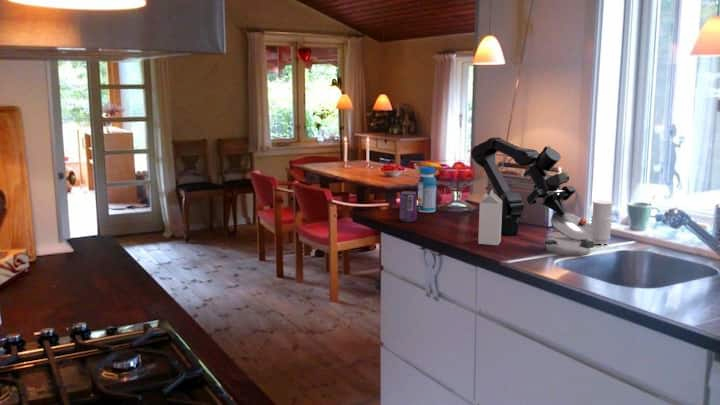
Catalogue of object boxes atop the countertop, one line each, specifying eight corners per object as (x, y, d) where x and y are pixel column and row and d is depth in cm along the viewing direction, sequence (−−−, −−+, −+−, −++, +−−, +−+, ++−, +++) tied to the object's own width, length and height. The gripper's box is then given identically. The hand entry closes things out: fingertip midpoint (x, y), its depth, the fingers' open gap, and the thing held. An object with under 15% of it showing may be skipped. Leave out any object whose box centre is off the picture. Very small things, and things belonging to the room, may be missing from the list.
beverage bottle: (430, 213, 285) (431, 168, 281) (413, 211, 289) (414, 167, 286) (439, 210, 292) (440, 166, 288) (422, 208, 296) (423, 165, 293)
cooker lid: (542, 216, 219) (545, 210, 217) (572, 212, 226) (575, 206, 224) (570, 243, 209) (573, 237, 208) (600, 238, 216) (603, 232, 215)
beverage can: (419, 220, 270) (420, 192, 268) (411, 223, 264) (412, 194, 262) (404, 218, 274) (405, 190, 272) (396, 221, 268) (396, 192, 266)
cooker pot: (531, 249, 221) (532, 235, 220) (572, 243, 230) (573, 229, 229) (567, 260, 207) (568, 245, 206) (610, 253, 216) (611, 238, 216)
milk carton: (500, 241, 233) (503, 189, 229) (498, 245, 226) (500, 192, 223) (481, 239, 235) (483, 188, 232) (478, 244, 228) (480, 191, 225)
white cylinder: (585, 241, 232) (588, 201, 230) (600, 240, 235) (603, 199, 232) (598, 246, 226) (601, 204, 224) (614, 244, 229) (617, 203, 226)
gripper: (534, 166, 217) (557, 202, 209) (573, 163, 226) (596, 198, 218) (517, 186, 225) (538, 222, 217) (555, 182, 234) (577, 217, 226)
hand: (563, 214), depth 220 cm, fingers closed
